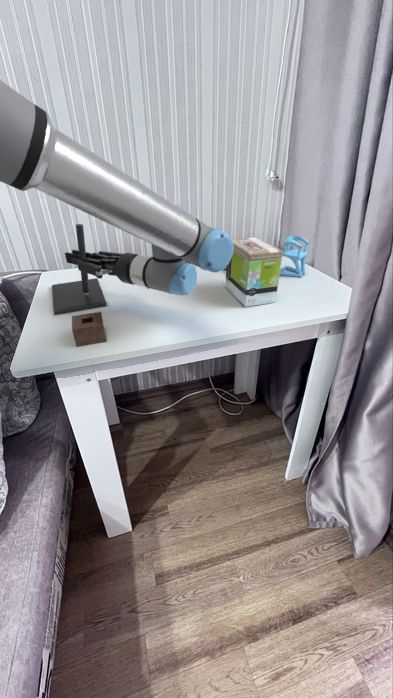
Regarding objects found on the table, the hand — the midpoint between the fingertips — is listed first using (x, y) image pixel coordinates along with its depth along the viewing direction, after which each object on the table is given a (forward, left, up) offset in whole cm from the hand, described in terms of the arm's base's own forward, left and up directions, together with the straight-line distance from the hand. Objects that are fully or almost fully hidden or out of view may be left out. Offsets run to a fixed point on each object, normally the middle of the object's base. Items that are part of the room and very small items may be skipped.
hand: (70, 256), depth 90 cm
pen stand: (+15, -20, -12) cm, 28 cm away
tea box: (+49, +12, -12) cm, 52 cm away
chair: (+61, +32, -12) cm, 70 cm away
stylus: (+3, -1, -11) cm, 11 cm away
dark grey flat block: (0, 0, -12) cm, 12 cm away
